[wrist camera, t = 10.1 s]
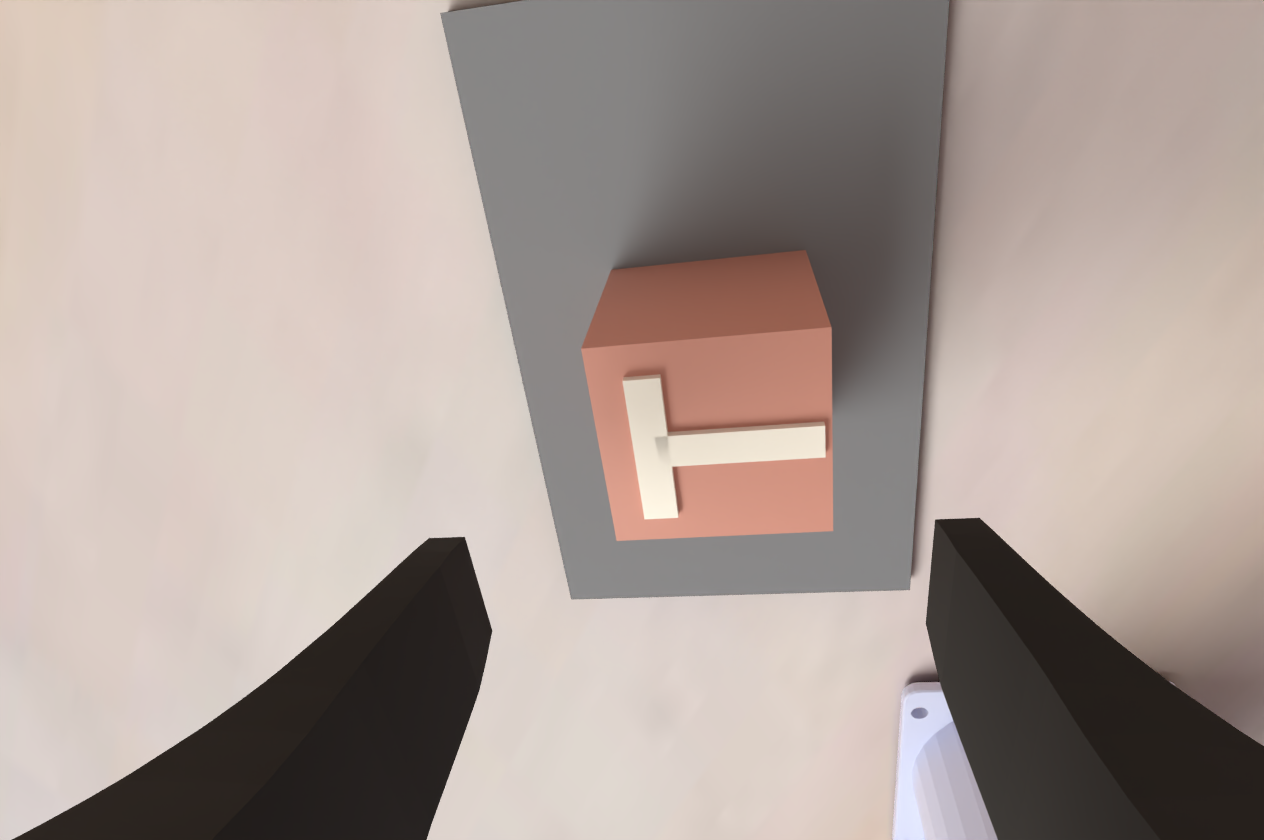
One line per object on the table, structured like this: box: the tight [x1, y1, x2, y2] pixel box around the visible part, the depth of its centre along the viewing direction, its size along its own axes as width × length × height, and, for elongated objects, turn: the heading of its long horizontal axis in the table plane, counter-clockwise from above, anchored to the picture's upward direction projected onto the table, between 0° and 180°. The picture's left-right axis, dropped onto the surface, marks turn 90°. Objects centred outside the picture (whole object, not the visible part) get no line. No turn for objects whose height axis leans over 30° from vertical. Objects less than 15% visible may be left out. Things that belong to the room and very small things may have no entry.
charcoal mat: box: [440, 0, 949, 599], centre depth 19 cm, size 16×10×1 cm, turn 7°
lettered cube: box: [581, 250, 833, 541], centre depth 16 cm, size 4×4×5 cm
